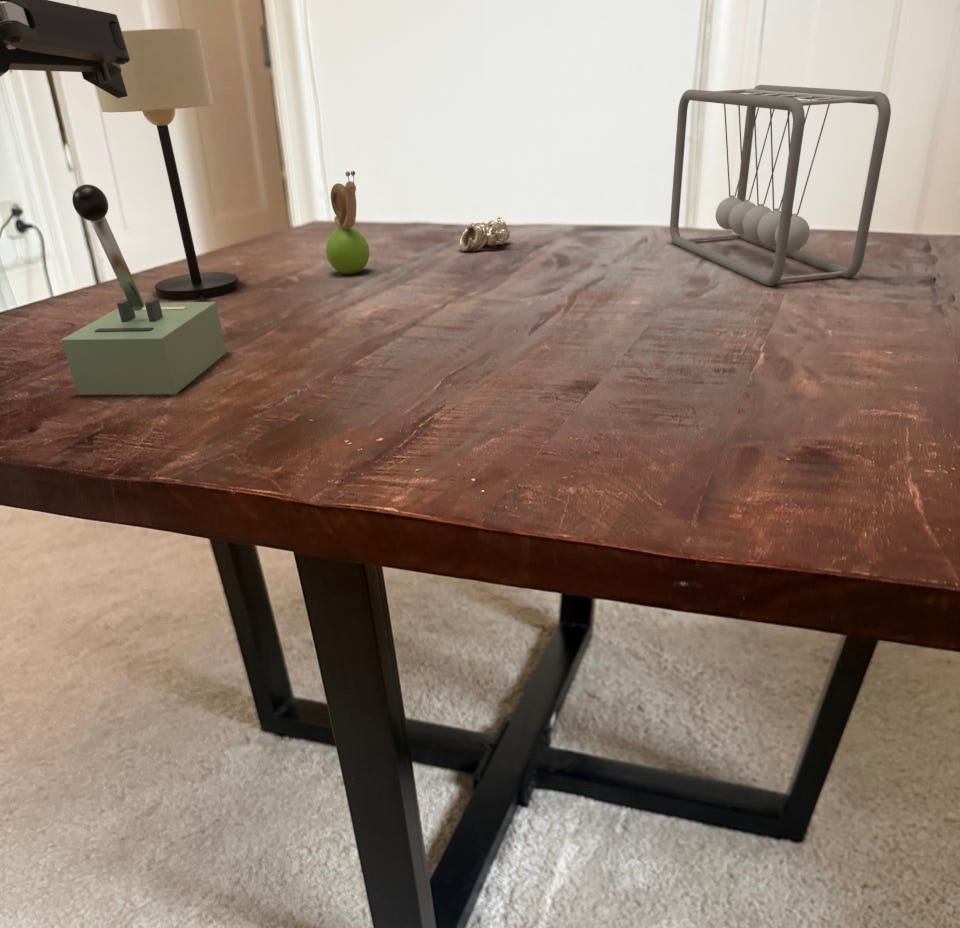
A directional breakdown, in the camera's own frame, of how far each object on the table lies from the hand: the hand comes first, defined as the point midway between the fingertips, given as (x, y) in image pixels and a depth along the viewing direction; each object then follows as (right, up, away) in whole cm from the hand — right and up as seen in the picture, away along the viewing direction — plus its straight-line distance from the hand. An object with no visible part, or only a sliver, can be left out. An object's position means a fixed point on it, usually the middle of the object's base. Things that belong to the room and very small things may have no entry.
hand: (27, 96), depth 63 cm
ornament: (+34, +15, +58) cm, 69 cm away
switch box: (+3, -15, +17) cm, 23 cm away
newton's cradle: (+67, +7, +44) cm, 80 cm away
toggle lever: (+3, -11, +13) cm, 17 cm away
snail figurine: (+17, +7, +48) cm, 52 cm away
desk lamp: (0, +2, +41) cm, 41 cm away
